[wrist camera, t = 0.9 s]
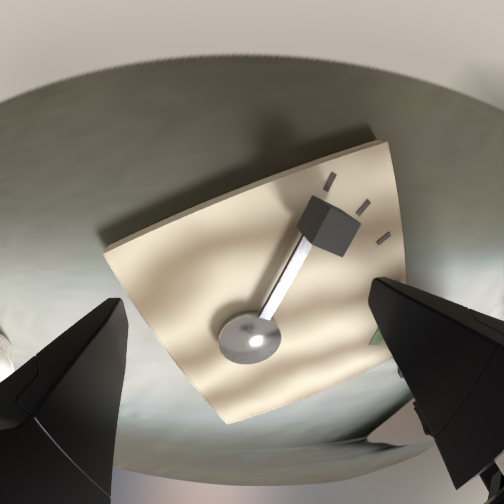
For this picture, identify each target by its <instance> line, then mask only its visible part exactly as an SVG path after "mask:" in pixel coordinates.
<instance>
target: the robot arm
mask: <svg viewBox="0 0 504 504" xmlns="http://www.w3.org/2000/svg"><path fill="white" fill-rule="evenodd" d="M368 305H369V308H370V310H371V312H372V314H373V317H374V319H375V321H376V324H377V326H378V328H379V330H380V333H381V335H382V337H383V339H384V341H385V343H386V345H387V347H388V349H389V351H390V353H391V354H392V356H393V358H394V360H395V362H396V364H397V366H398V367H399V376H400V377H401V378H403V377H404V379H405V381H406V383H407V385H408V386H409V388H410V390H411V392H412V394H413V396H414V398H415V400H416V401H414V402H413V404H414V406H415V408H414V410H415V411H416V413H417V414H418V416H419V419H420V421H421V423H422V426H423V430H424V432H425V434H426V435H431V436H432V437H433V438H434V439H435V442H436V445H437V447H438V449H439V451H440V454H441V456H442V458H443V460H444V462H445V465H446V467H447V470H448V472H449V475H450V477H451V479H452V482H453V484H454V487H455V488H456V490H458V489H460V488H461V487H462V486H464V485H465V484H467V483H468V482H469V481H471V480H472V479H474V478H475V477H477V476H478V475H480V477H481V479H482V481H483V482H484V484H485V486H486V488H487V490H488V491H489V496H488V500H487V501H486V502H485V503H484V504H504V321H502V320H499V319H496V318H493V317H491V316H488V315H485V314H483V313H480V312H477V311H475V310H472V309H468V308H467V307H464V306H462V305H459V304H457V303H454V302H451V301H449V300H446V299H443V298H441V297H438V296H436V295H433V294H430V293H428V292H425V291H422V290H420V289H417V288H414V287H412V286H409V285H406V284H404V283H401V282H398V281H395V280H393V279H390V278H387V277H376V278H374V279H373V280H372V283H371V288H370V292H369V296H368ZM127 338H128V319H127V315H126V312H125V308H124V303H123V301H122V299H121V298H108V299H107V300H105V301H104V302H103V303H101V304H100V305H99V306H97V307H96V308H95V309H93V310H92V311H91V312H90V313H88V314H87V315H86V316H84V317H83V318H82V319H80V320H79V321H78V322H76V323H75V324H74V325H73V326H71V327H70V328H69V329H67V330H66V331H65V332H64V333H62V334H61V335H60V336H58V337H57V338H56V339H55V340H53V341H52V342H51V343H50V344H48V345H47V346H46V347H45V348H43V349H42V350H41V351H40V352H38V353H37V354H36V356H33V357H32V358H31V359H30V360H29V361H27V362H26V363H25V364H24V365H22V366H21V367H20V368H19V369H17V370H16V371H15V372H14V373H12V374H11V375H9V376H8V377H7V378H5V379H4V380H3V381H1V382H0V504H110V503H111V499H110V496H111V480H112V467H113V456H114V446H115V437H116V428H117V421H118V413H119V406H120V399H121V393H122V387H123V381H124V375H125V367H126V352H127Z"/></svg>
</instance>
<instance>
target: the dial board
mask: <svg viewBox="0 0 504 504" xmlns="http://www.w3.org/2000/svg"><path fill="white" fill-rule="evenodd" d="M312 195H314V196H316V197H318V198H320V199H322V200H324V201H326V202H328V203H330V204H332V205H334V206H336V207H338V208H339V209H341V210H343V211H344V212H346V213H347V214H349V215H350V216H351V217H353V218H354V219H356V220H357V221H359V222H360V223H361V226H360V228H359V229H358V231H357V233H356V235H355V237H354V238H353V240H352V242H351V244H350V246H349V247H348V249H347V251H346V253H345V255H344V256H343V258H342V257H340V256H337V255H335V254H333V253H330V252H328V251H326V250H323V249H321V248H318V247H316V246H314V245H312V247H311V249H310V250H309V252H308V254H307V256H306V258H305V260H304V261H303V263H302V265H301V267H300V269H299V270H298V272H297V274H296V276H295V278H294V279H293V281H292V283H291V285H290V286H289V288H288V290H287V292H286V293H285V295H284V297H283V299H282V300H281V302H280V304H279V306H278V307H277V309H276V311H275V312H274V314H273V316H272V317H273V318H274V319H275V321H276V322H277V324H278V327H279V330H280V332H281V343H280V346H279V348H278V349H277V351H276V352H275V353H274V354H273V355H272V356H271V357H269V358H268V359H266V360H264V361H262V362H259V363H255V364H247V365H245V364H237V363H234V362H231V361H229V360H228V359H226V358H225V357H224V356H223V354H222V353H221V351H220V348H219V340H218V333H219V329H220V327H221V325H222V324H223V323H224V322H225V321H226V320H227V319H228V318H229V317H231V316H232V315H234V314H236V313H239V312H242V311H248V310H257V311H261V309H262V307H263V305H264V303H265V302H266V300H267V298H268V296H269V294H270V293H271V291H272V289H273V287H274V285H275V284H276V282H277V280H278V278H279V276H280V274H281V273H282V271H283V269H284V267H285V265H286V263H287V261H288V260H289V258H290V256H291V254H292V252H293V250H294V248H295V246H296V245H297V243H298V241H299V239H300V237H301V235H302V233H301V232H300V231H299V230H298V229H297V228H296V226H297V224H298V222H299V220H300V218H301V216H302V214H303V212H304V210H305V208H306V206H307V204H308V202H309V200H310V198H311V196H312ZM103 255H104V257H105V259H106V260H107V262H108V264H109V265H110V267H111V269H112V270H113V272H114V274H115V275H116V277H117V279H118V280H119V282H120V283H121V285H122V287H123V288H124V290H125V291H126V293H127V295H128V296H129V298H130V299H131V301H132V302H133V304H134V305H135V307H136V308H137V310H138V311H139V313H140V314H141V316H142V317H143V319H144V320H145V322H146V323H147V325H148V326H149V327H150V329H151V330H152V332H153V333H154V334H155V336H156V337H157V339H158V340H159V341H160V343H161V344H162V346H163V347H164V348H165V350H166V351H167V352H168V354H169V355H170V356H171V358H172V359H173V360H174V362H175V363H176V364H177V365H178V367H179V368H180V369H181V371H182V372H183V373H184V374H185V376H186V377H187V378H188V379H189V381H190V382H191V383H192V384H193V386H194V387H195V388H196V389H197V391H198V392H199V393H200V394H201V395H202V397H203V398H204V399H205V400H206V401H207V402H208V404H209V405H210V406H211V407H212V408H213V409H214V410H215V412H216V413H217V414H218V415H219V416H220V417H221V418H222V419H223V421H224V422H225V423H226V424H231V423H234V422H237V421H241V420H244V419H247V418H250V417H254V416H257V415H260V414H263V413H266V412H269V411H272V410H274V409H277V408H280V407H283V406H286V405H288V404H291V403H294V402H296V401H299V400H301V399H304V398H307V397H309V396H311V395H314V394H316V393H319V392H321V391H324V390H326V389H328V388H330V387H333V386H335V385H337V384H340V383H342V382H344V381H346V380H348V379H350V378H353V377H355V376H357V375H359V374H361V373H363V372H365V371H367V370H369V369H371V368H373V367H375V366H377V365H379V364H381V363H383V362H385V361H387V360H388V359H390V358H392V357H393V356H392V354H391V353H390V351H389V349H388V347H387V345H386V343H385V341H384V339H383V337H382V335H381V333H380V330H379V328H378V326H377V324H376V321H375V319H374V317H373V314H372V312H371V310H370V308H369V305H368V296H369V292H370V288H371V283H372V280H373V279H374V278H376V277H387V278H390V279H393V280H395V281H398V282H401V283H404V284H406V285H407V283H406V266H405V253H404V242H403V232H402V224H401V216H400V208H399V201H398V195H397V188H396V182H395V177H394V171H393V166H392V161H391V156H390V151H389V146H388V142H386V141H381V140H375V141H371V142H368V143H365V144H362V145H359V146H355V147H352V148H349V149H346V150H343V151H340V152H337V153H334V154H331V155H328V156H325V157H322V158H319V159H316V160H313V161H311V162H308V163H305V164H302V165H299V166H296V167H294V168H291V169H288V170H285V171H283V172H280V173H277V174H274V175H272V176H269V177H266V178H264V179H261V180H259V181H256V182H253V183H251V184H248V185H246V186H243V187H241V188H238V189H235V190H233V191H230V192H228V193H226V194H223V195H221V196H218V197H216V198H213V199H211V200H208V201H206V202H204V203H201V204H199V205H196V206H194V207H192V208H189V209H187V210H185V211H182V212H180V213H178V214H176V215H173V216H171V217H169V218H166V219H164V220H162V221H160V222H158V223H155V224H153V225H151V226H149V227H147V228H144V229H142V230H140V231H138V232H136V233H134V234H131V235H129V236H127V237H125V238H123V239H121V240H119V241H117V242H115V243H113V244H110V245H108V247H107V248H106V250H105V251H104V253H103Z"/></svg>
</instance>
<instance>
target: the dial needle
mask: <svg viewBox="0 0 504 504" xmlns="http://www.w3.org/2000/svg"><path fill="white" fill-rule="evenodd" d="M360 226H361V223H360V222H359V221H357V220H356V219H354V218H353V217H351V216H350V215H349V214H347V213H346V212H344V211H343V210H341V209H339V208H338V207H336V206H334V205H332V204H330V203H328V202H326V201H324V200H322V199H320V198H318V197H316V196H314V195H312V196H311V198H310V200H309V202H308V204H307V206H306V208H305V210H304V212H303V214H302V216H301V218H300V220H299V222H298V224H297V226H296V228H297V229H298V230H299V231H300V232H301V233H302V235H301V237H300V239H299V241H298V243H297V245H296V246H295V248H294V250H293V252H292V254H291V256H290V258H289V260H288V261H287V263H286V265H285V267H284V269H283V271H282V273H281V274H280V276H279V278H278V280H277V282H276V284H275V285H274V287H273V289H272V291H271V293H270V294H269V296H268V298H267V300H266V302H265V303H264V305H263V307H262V309H261V311H257V310H248V311H242V312H239V313H236V314H234V315H232V316H231V317H229V318H228V319H227V320H226V321H225V322H224V323H223V324H222V325H221V327H220V329H219V333H218V340H219V348H220V351H221V353H222V354H223V356H224V357H225V358H226V359H228V360H229V361H231V362H234V363H237V364H245V365H247V364H255V363H259V362H262V361H264V360H266V359H268V358H269V357H271V356H272V355H273V354H274V353H275V352H276V351H277V349H278V348H279V346H280V343H281V332H280V330H279V327H278V324H277V322H276V321H275V319H274V318H273V317H272V316H273V314H274V312H275V311H276V309H277V307H278V306H279V304H280V302H281V300H282V299H283V297H284V295H285V293H286V292H287V290H288V288H289V286H290V285H291V283H292V281H293V279H294V278H295V276H296V274H297V272H298V270H299V269H300V267H301V265H302V263H303V261H304V260H305V258H306V256H307V254H308V252H309V250H310V249H311V247H312V245H314V246H316V247H318V248H321V249H323V250H326V251H328V252H330V253H333V254H335V255H337V256H340V257H342V258H343V256H344V255H345V253H346V251H347V249H348V247H349V246H350V244H351V242H352V240H353V238H354V237H355V235H356V233H357V231H358V229H359V228H360Z"/></svg>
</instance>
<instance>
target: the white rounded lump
mask: <svg viewBox="0 0 504 504" xmlns="http://www.w3.org/2000/svg"><path fill="white" fill-rule="evenodd" d="M12 373H14V353H13V347H12V344H11V343H10V342H9V340H8V339H7V338H6V337H5V336H3V335H2V334H0V382H1V381H3V380H4V379H5V378H7V377H8V376H9V375H11V374H12Z"/></svg>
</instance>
